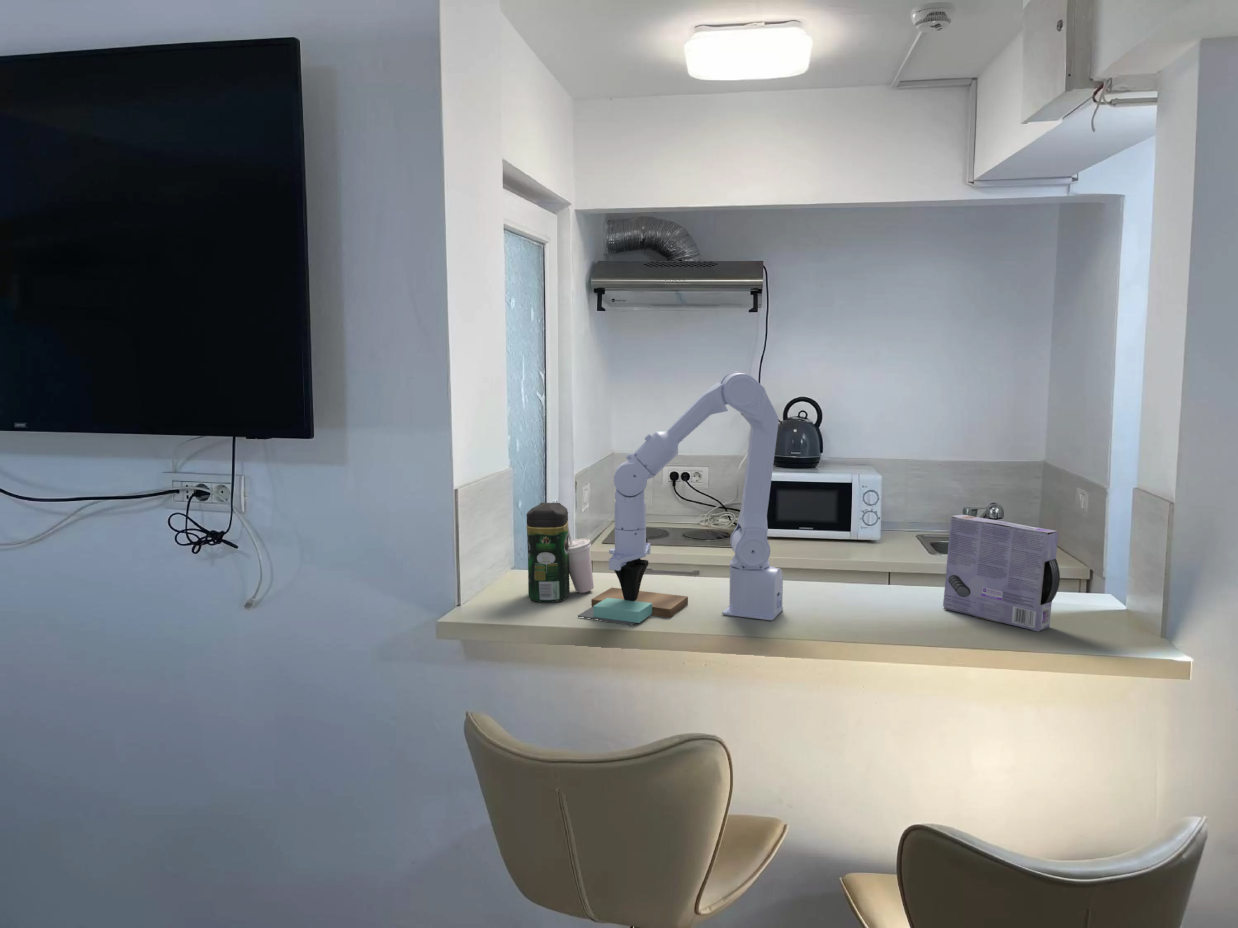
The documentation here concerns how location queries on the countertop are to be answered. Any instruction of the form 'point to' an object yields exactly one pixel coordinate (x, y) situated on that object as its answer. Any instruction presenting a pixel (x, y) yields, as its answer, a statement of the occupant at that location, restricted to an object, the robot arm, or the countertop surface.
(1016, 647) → the countertop surface
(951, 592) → the cake pan box
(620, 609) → the teal rectangular block
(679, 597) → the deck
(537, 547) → the coffee jar
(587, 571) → the smoothie
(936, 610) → the countertop surface
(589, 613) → the mat
